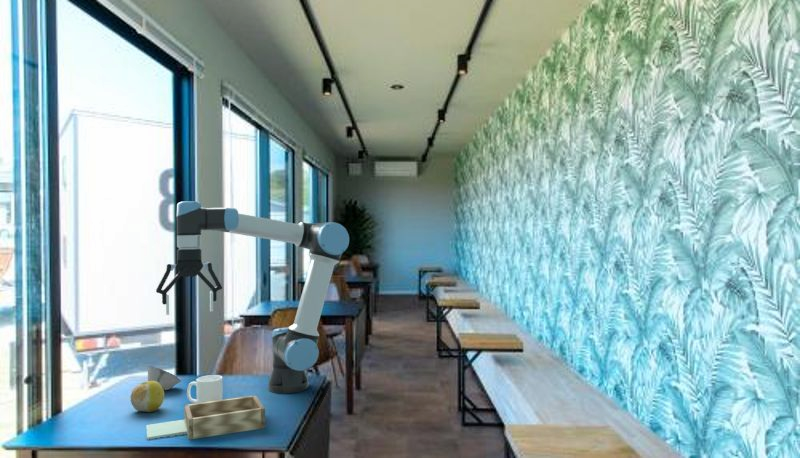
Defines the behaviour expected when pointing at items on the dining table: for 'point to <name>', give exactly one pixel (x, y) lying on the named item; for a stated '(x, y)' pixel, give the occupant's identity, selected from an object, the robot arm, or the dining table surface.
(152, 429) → the mat
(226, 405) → the caddy
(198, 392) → the cup
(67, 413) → the dining table surface
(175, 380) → the bowl
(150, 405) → the fruit
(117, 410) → the dining table surface
